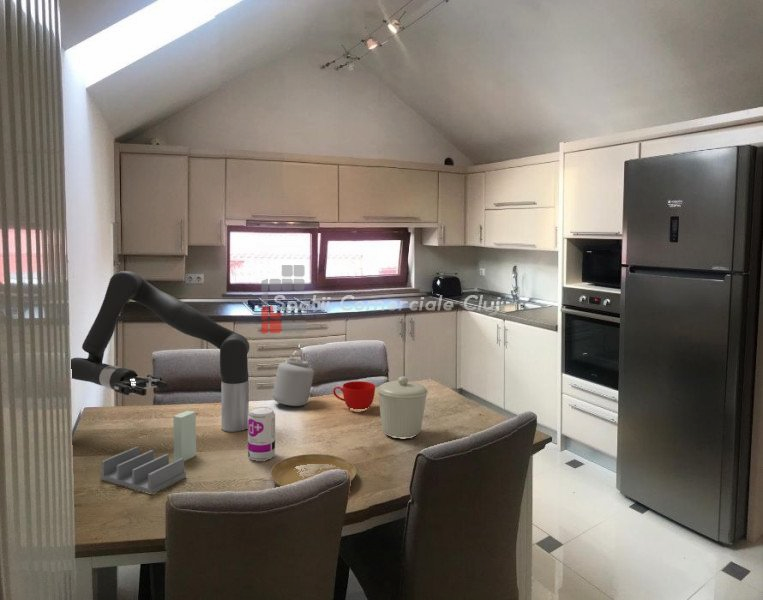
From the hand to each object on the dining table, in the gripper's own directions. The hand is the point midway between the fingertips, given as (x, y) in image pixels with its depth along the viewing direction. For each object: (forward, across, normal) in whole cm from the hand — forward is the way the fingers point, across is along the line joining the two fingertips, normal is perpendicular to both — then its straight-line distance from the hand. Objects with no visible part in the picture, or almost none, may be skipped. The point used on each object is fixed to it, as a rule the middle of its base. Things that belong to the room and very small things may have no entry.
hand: (156, 389), depth 168 cm
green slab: (+13, 0, +19) cm, 23 cm away
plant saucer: (+56, +5, +16) cm, 58 cm away
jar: (+14, +61, +17) cm, 65 cm away
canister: (+65, +50, +14) cm, 83 cm away
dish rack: (+13, -16, +20) cm, 28 cm away
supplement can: (+33, +11, +17) cm, 39 cm away
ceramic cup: (+38, +66, +15) cm, 78 cm away
